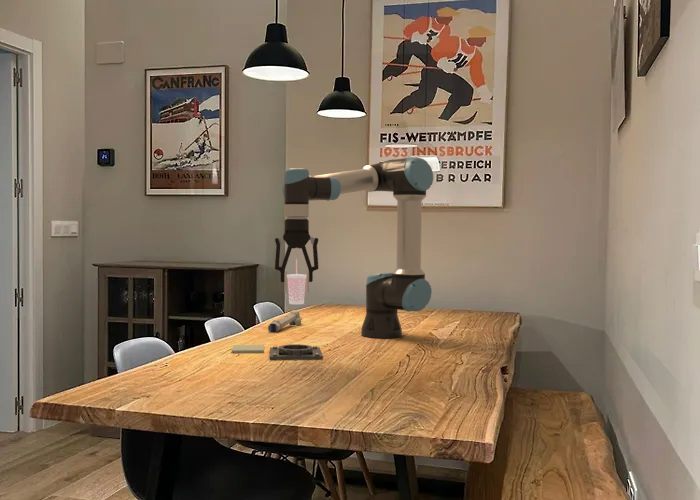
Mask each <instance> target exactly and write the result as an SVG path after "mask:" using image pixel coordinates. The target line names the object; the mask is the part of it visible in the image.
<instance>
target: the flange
mask: <svg viewBox="0 0 700 500" xmlns="http://www.w3.org/2000/svg"><path fill="white" fill-rule="evenodd" d="M323 359H324V356H323V352H322V350H321V347H319V346H317V345H313V346H312V345H308V344H299V343H298V344H297V343H296V344H290V343H289V344H283V345H280V346H277V345H273V346H272V347H269V361H295V360H296V361H297V360H300V361H303V360H305V361H307V360H308V361H309V360H311V361H313V360H314V361H315V360H316V361H317V360H318V361H319V360H321V361H323Z"/></svg>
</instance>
